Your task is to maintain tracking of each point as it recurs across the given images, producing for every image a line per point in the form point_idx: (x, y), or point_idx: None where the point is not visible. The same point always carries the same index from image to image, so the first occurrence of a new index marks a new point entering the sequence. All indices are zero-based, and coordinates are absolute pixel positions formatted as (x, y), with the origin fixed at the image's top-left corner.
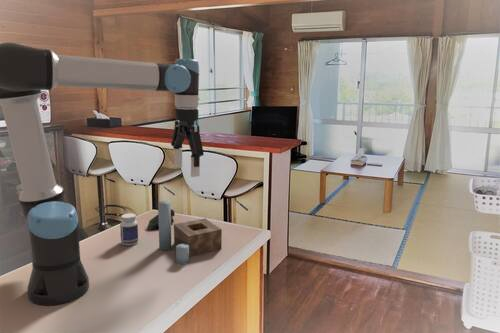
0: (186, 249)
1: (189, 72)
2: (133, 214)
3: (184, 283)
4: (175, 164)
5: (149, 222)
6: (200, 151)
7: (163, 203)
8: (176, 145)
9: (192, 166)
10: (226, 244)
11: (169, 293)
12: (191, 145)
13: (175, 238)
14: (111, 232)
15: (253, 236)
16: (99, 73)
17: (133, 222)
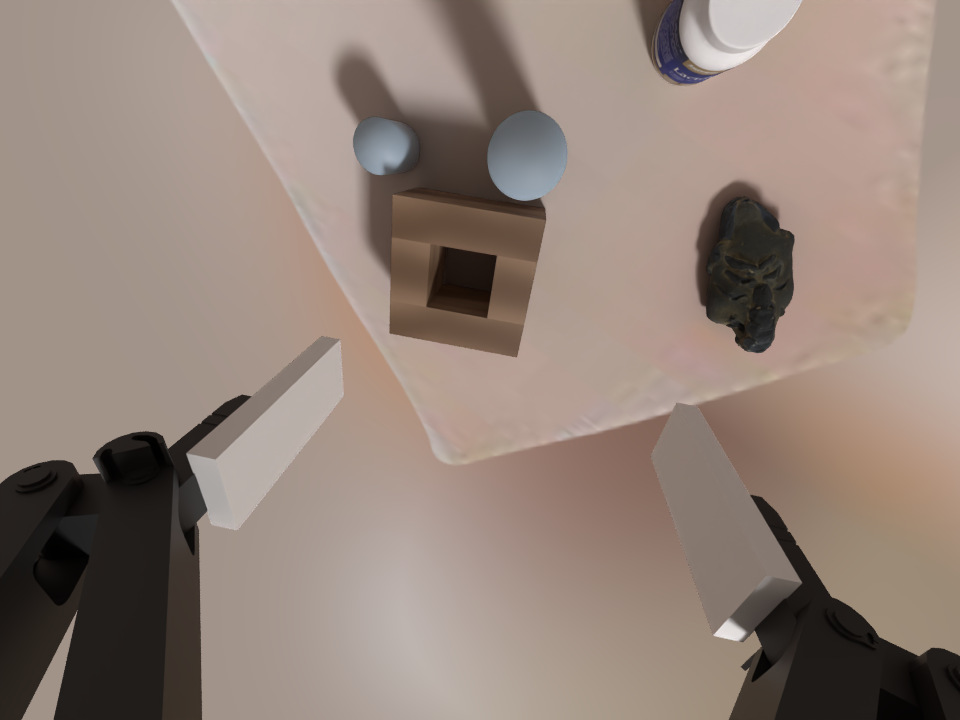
0: (355, 149)
1: None
2: (746, 35)
3: (249, 53)
4: (686, 429)
5: (770, 217)
6: (75, 567)
7: (514, 142)
8: (785, 659)
9: (268, 389)
10: None
11: None
12: (75, 629)
13: (531, 209)
14: (889, 11)
15: (434, 423)
16: None
17: (697, 23)
